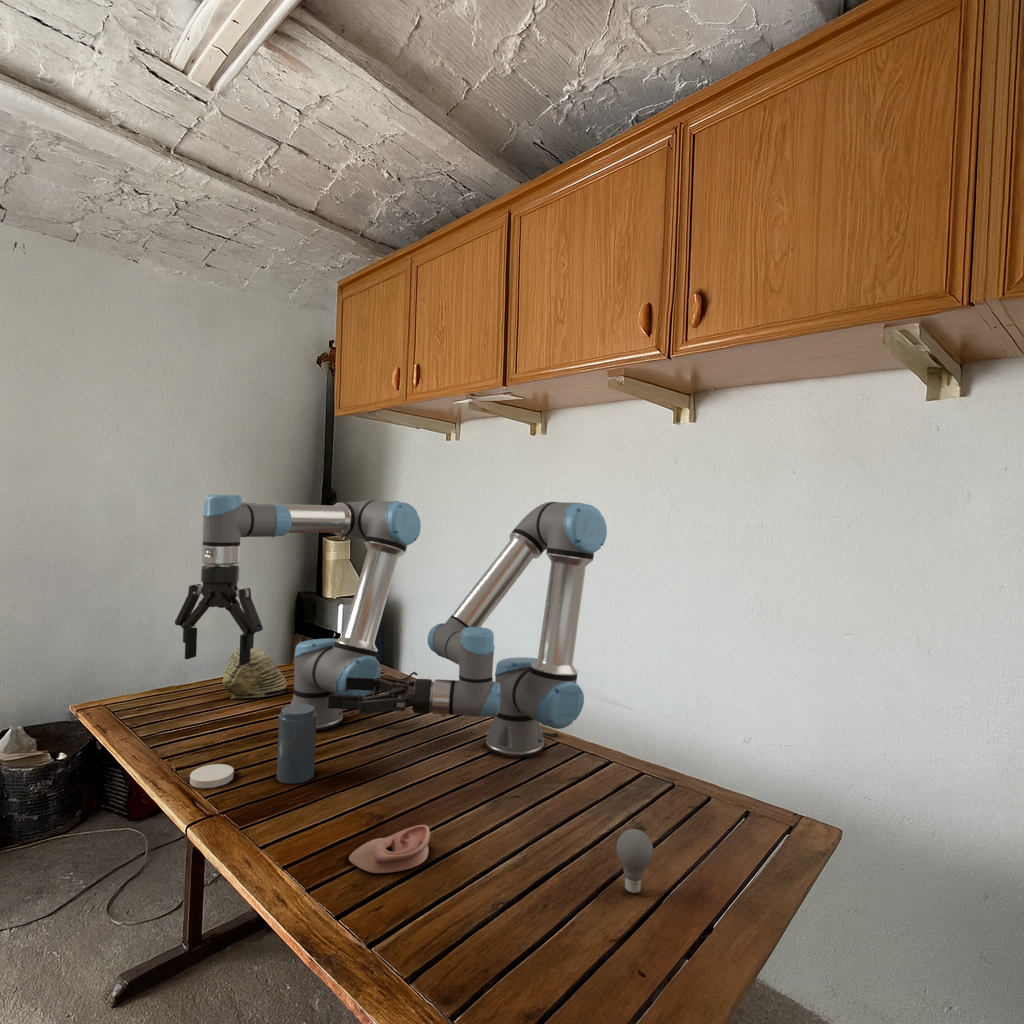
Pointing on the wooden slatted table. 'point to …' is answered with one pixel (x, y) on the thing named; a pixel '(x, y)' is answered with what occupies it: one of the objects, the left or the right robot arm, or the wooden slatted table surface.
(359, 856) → the anatomical model
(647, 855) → the light bulb
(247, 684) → the fossil
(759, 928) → the wooden slatted table surface
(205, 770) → the lid
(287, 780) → the jar
